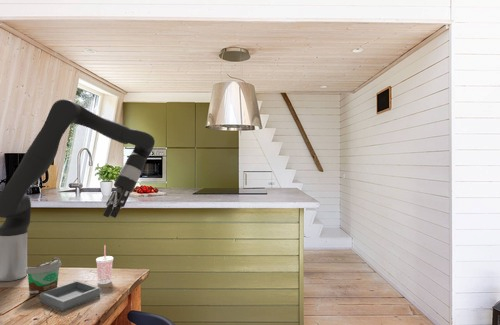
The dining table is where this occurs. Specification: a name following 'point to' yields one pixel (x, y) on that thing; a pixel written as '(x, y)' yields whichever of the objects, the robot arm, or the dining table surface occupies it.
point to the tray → (69, 295)
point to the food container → (43, 276)
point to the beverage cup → (104, 268)
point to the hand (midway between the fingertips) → (108, 216)
